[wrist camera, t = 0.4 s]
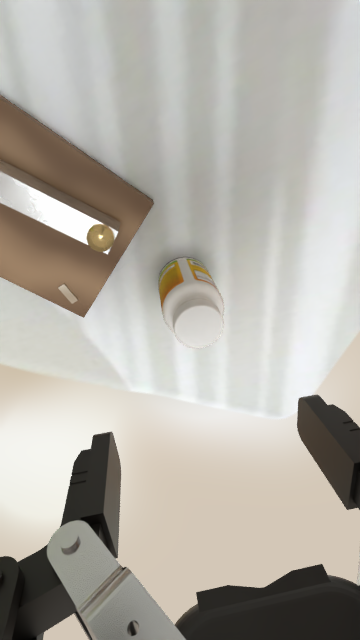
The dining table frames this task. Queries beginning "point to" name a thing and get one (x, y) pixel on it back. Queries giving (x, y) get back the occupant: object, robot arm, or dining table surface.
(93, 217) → the bar
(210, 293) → the supplement bottle
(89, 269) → the walnut stand
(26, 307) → the dining table surface
